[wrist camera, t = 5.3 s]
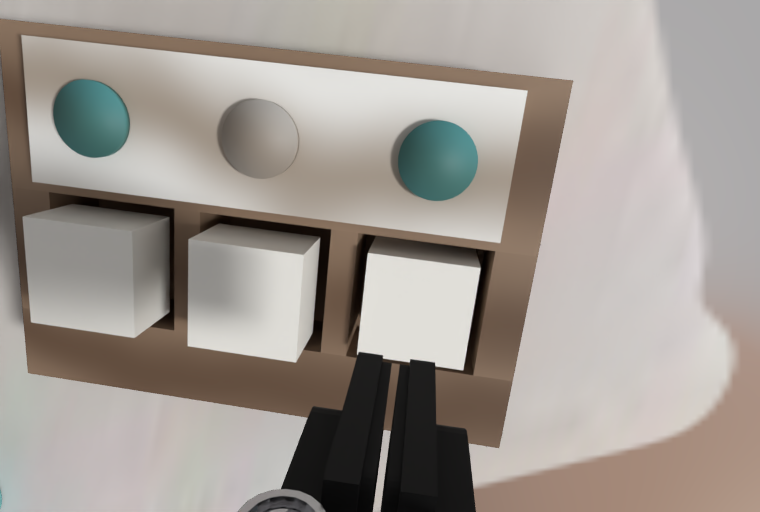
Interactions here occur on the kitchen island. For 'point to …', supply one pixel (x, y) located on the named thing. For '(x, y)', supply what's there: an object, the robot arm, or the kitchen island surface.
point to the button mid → (252, 291)
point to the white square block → (418, 301)
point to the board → (333, 276)
